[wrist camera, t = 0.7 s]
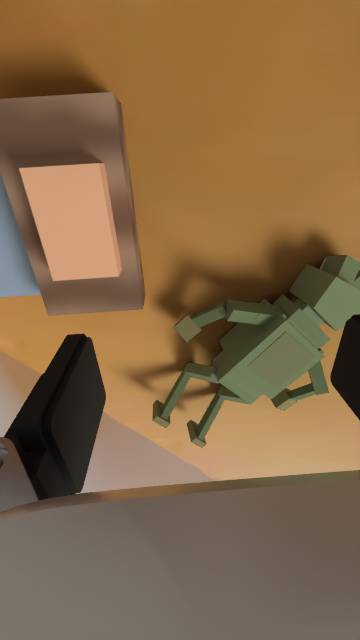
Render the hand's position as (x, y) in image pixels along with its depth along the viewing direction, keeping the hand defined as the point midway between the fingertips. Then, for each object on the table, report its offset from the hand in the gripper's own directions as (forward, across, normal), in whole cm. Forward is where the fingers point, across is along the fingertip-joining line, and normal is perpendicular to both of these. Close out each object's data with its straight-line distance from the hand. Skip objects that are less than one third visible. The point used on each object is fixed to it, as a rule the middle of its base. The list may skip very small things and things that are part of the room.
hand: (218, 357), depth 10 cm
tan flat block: (+18, +10, -2) cm, 20 cm away
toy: (+22, -8, +15) cm, 28 cm away
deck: (+22, +10, -2) cm, 24 cm away
